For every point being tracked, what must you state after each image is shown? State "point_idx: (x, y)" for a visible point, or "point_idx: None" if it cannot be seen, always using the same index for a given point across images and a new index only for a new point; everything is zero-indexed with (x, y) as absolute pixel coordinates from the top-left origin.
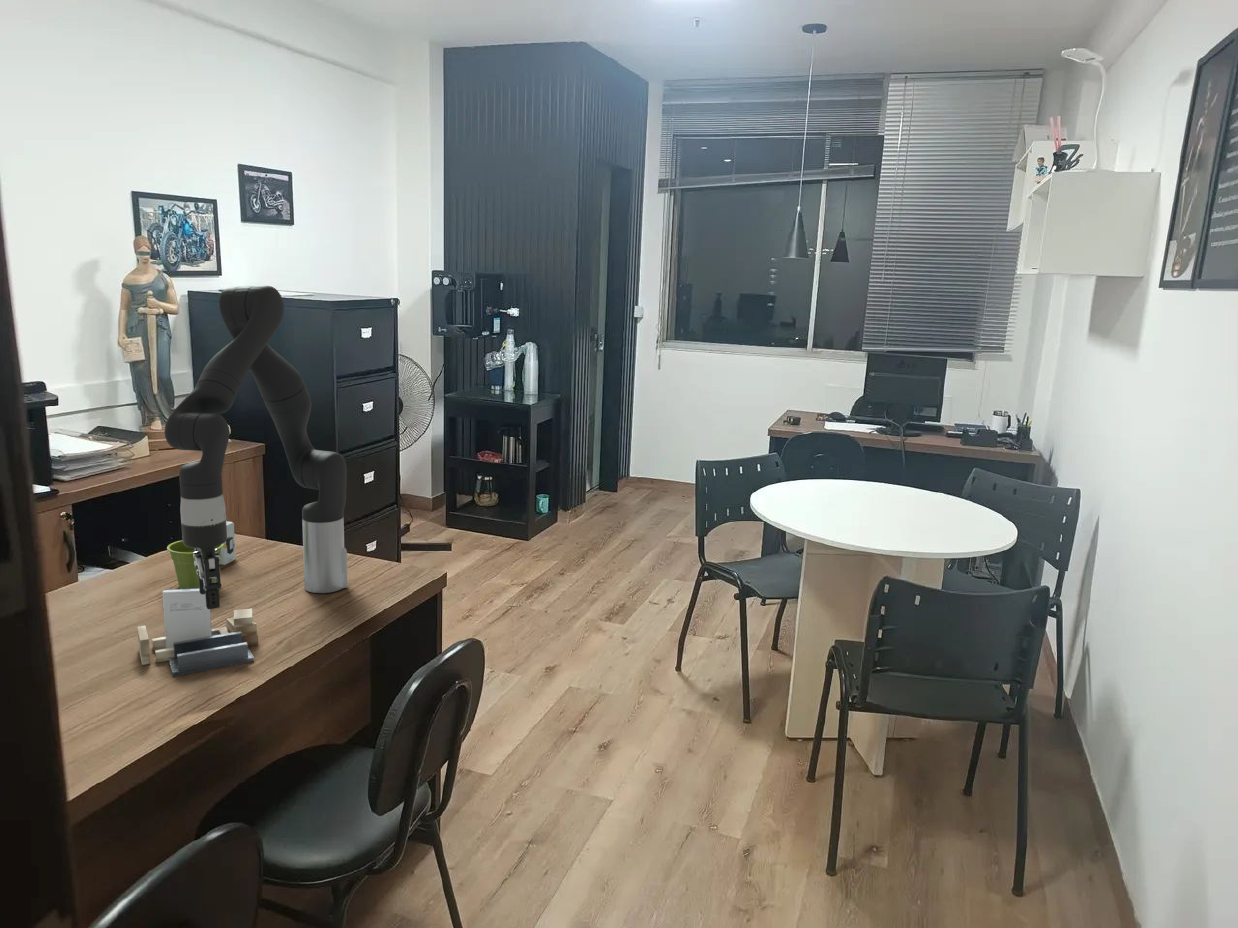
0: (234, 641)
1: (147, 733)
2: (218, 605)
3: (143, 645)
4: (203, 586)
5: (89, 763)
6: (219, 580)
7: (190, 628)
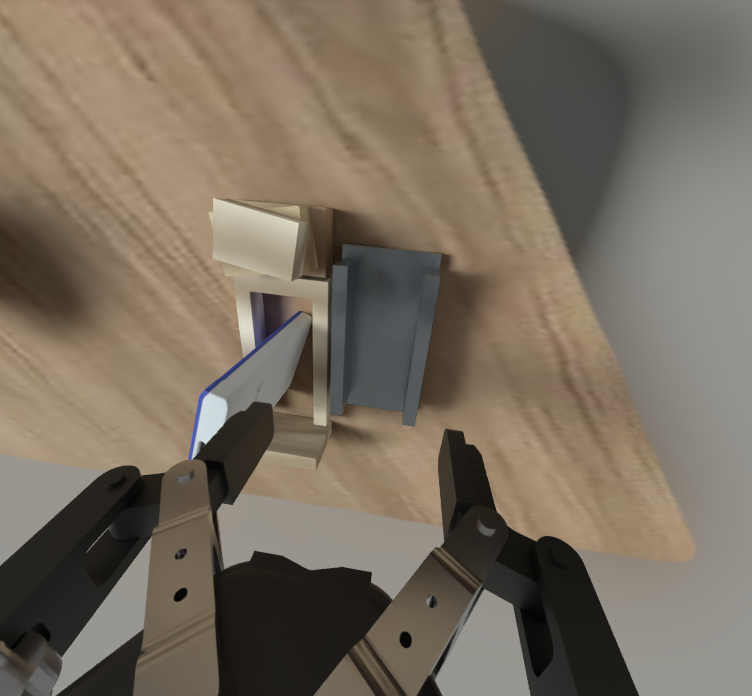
0: (351, 283)
1: (615, 487)
2: (462, 437)
3: (319, 456)
4: (257, 449)
5: (637, 549)
6: (600, 615)
7: (280, 376)
